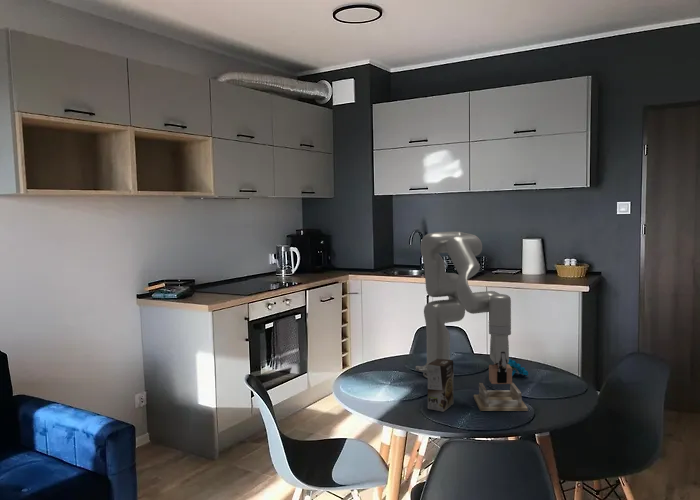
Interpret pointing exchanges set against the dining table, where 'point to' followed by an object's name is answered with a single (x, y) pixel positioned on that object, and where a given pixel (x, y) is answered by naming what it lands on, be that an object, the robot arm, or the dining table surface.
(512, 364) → the toy dinosaur
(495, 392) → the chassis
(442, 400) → the coffee box
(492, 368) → the brown block
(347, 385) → the dining table surface
